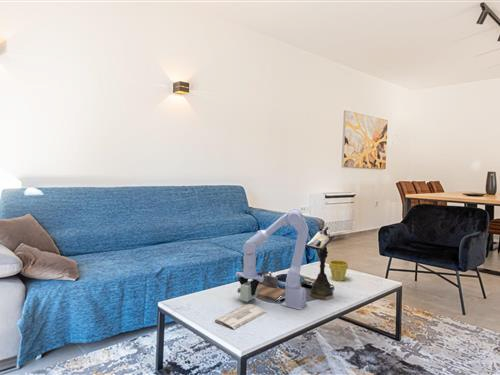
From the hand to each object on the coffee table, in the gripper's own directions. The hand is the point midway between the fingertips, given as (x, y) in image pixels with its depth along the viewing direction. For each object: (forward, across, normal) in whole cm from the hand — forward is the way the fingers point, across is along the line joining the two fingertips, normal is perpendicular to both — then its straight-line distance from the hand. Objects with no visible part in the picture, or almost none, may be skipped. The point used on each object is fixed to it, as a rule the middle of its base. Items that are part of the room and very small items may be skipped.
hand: (249, 293), depth 170 cm
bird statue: (+4, -26, -24) cm, 36 cm away
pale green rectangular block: (+2, 0, 0) cm, 2 cm away
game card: (+4, +6, -25) cm, 26 cm away
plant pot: (+4, -25, -56) cm, 61 cm away
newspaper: (+4, -6, +17) cm, 18 cm away
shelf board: (+3, 0, -14) cm, 14 cm away
